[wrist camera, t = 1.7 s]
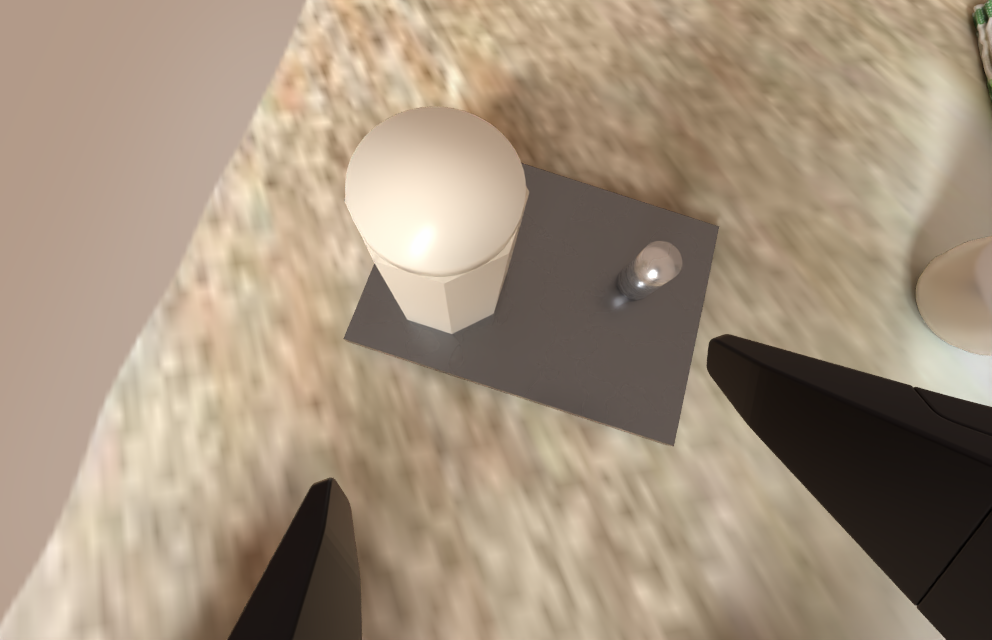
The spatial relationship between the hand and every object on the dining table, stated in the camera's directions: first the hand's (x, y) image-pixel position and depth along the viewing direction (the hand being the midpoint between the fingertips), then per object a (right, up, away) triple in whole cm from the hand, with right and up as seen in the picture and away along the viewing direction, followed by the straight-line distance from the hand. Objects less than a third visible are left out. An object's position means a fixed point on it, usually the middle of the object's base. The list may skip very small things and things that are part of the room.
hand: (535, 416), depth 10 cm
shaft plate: (+2, +4, +15) cm, 16 cm away
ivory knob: (-4, +5, +14) cm, 15 cm away
